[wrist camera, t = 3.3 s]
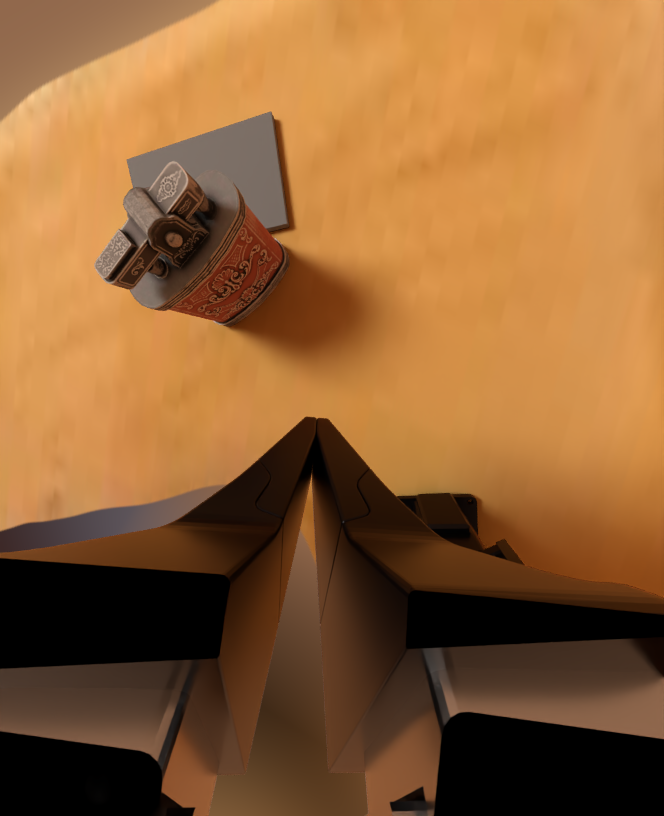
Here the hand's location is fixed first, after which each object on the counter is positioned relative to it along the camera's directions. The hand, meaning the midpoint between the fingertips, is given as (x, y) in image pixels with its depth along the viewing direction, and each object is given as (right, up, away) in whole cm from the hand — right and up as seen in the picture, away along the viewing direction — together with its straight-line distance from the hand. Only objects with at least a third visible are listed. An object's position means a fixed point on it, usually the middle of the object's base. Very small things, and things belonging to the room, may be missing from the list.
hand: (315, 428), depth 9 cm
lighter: (-6, +11, +11) cm, 16 cm away
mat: (-9, +17, +10) cm, 22 cm away
